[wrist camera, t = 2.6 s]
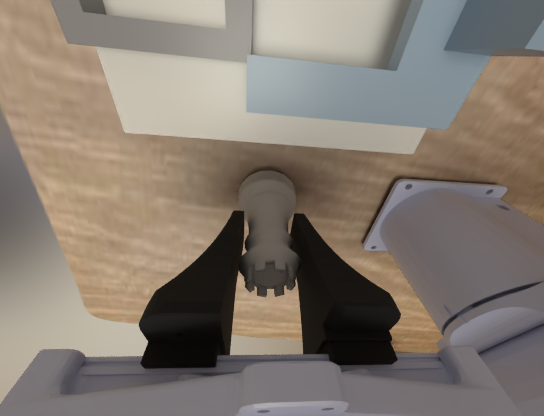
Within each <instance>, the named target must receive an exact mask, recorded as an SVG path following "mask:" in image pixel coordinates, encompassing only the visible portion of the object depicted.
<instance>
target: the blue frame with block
mask: <svg viewBox="0 0 544 416" xmlns="http://www.w3.org/2000/svg"><path fill="white" fill-rule="evenodd" d="M491 56H540V57H544V0H411V3H410V6H409V9H408V12H407V14H406V17H405V20H404V23H403V26H402V28H401V31H400V34H399V37H398V40H397V42H396V45H395V48H394V51H393V54H392V57H391V59H390V62H389V65H388V68H387V70H383V69H374V68H365V67H357V66H348V65H339V64H330V63H321V62H312V61H303V60H294V59H286V58H277V57H268V56H259V55H250V54H247V94H246V112H249V113H260V114H272V115H283V116H294V117H306V118H317V119H328V120H339V121H351V122H362V123H373V124H385V125H396V126H407V127H419V128H430V129H441V130H448V128H449V126H450V125H451V123H452V121H453V120H454V118H455V116H456V115H457V113H458V111H459V110H460V108H461V106H462V104H463V103H464V101H465V99H466V98H467V96H468V94H469V93H470V91H471V89H472V88H473V86H474V84H475V82H476V81H477V79H478V77H479V76H480V74H481V72H482V71H483V69H484V67H485V66H486V64H487V62H488V60H489V59H490V57H491Z"/></svg>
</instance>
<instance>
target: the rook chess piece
mask: <svg viewBox="0 0 544 416" xmlns="http://www.w3.org/2000/svg"><path fill="white" fill-rule="evenodd" d="M238 193H239V198H238V201H239V208H240V211H244V217H245V219H246V220H247V222H248V226H249V235H248V236H247V238H246V240H245V249H246V250H247V252H246V253H245V254H244V255H242V257H241V259H240V261H239V263H238V266H239V272H240V273H241V274H242V275H243V276H244V277H245V278H244V281H246V282H245V288H246V289H247V290H248V291H249V292H251V291H253V290H254V286H255V287H257V296H262V297H266V295H267V289H274V294H275V297H277V296H280V295H284V286H285V285H286V286H287V289H289V290H292V289H293V288H294V287H295V285H296V284H295V279H296V274H297V273H298V272H299V270H300V267H301V260H300V258H299V256H298V255H297V254H296V253H295V252H294V251H292V250H291V249H292V248H293V239H292V237H291V235H290V234H289V233H288V221H289V219H290V218H291V216H292V214H293V212H294V211H295V208H296V190H295V188H294V185H293V183H292V181H291V180H290V179H288V178H287V177H286V176H285V175H284V174H281V173H278V172H275V171H259V172H257V173H254V174H252V175H249V176H248V177H247V178H246V179H245V180H244V181H243V182H242V184H241V187H240V189H239V192H238Z"/></svg>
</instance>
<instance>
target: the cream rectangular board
mask: <svg viewBox="0 0 544 416" xmlns="http://www.w3.org/2000/svg"><path fill="white" fill-rule="evenodd" d="M50 1H51V3H52V6H53V8H54V11H55V13H56V16H57V18H58V21H59V23H60V26H61V28H62V31H63V33H64V36H65V38H66V41H67V43H68V44H78V45H87V46H96V49H97V52H98V55H99V58H100V61H101V64H102V67H103V70H104V73H105V76H106V79H107V82H108V85H109V88H110V91H111V94H112V96H113V99H114V102H115V105H116V108H117V111H118V114H119V117H120V120H121V123H122V126H123V129H124V132H125V133H137V134H150V135H164V136H177V137H190V138H203V139H216V140H229V141H242V142H255V143H268V144H282V145H295V146H308V147H321V148H334V149H347V150H360V151H373V152H387V153H400V154H414V152H415V150H416V148H417V146H418V144H419V142H420V140H421V139H422V137H423V135H424V133H425V131H426V129H427V128H419V127H407V126H396V125H385V124H373V123H362V122H351V121H339V120H328V119H317V118H306V117H294V116H283V115H272V114H260V113H249V112H246V94H247V54H250V55H259V56H268V57H277V58H286V59H294V60H303V61H312V62H321V63H330V64H339V65H348V66H357V67H365V68H374V69H383V70H387V68H388V65H389V62H390V59H391V57H392V54H393V51H394V48H395V45H396V42H397V40H398V37H399V34H400V31H401V28H402V26H403V23H404V20H405V17H406V14H407V12H408V9H409V6H410V3H411V0H50Z"/></svg>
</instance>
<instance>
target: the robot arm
mask: <svg viewBox="0 0 544 416" xmlns="http://www.w3.org/2000/svg"><path fill="white" fill-rule="evenodd" d="M408 184H409V185H408ZM407 185H408V186H407ZM406 186H407V187H406ZM506 191H507V188H506V187H505V186H503V185H492V184H477V183H461V182H446V181H431V180H415V179H400V180H398V181H396V182H395V184H394V186H393V187H392V189H391V191H390V193H389V195H388V197H387V199H386V201H385V203H384V205H383V207H382V209H381V211H380V213H379V214H378V216H377V218H376V220H375V222H374V224H373V226H372V228H371V230H370V232H369V234H368V236H367V238H366V239H365V241H364V243H363V248H364V250H368V251H389V252H390V254H391V255H392V257H393V259H394V260H395V262H396V263H397V265H398V266H399V268H400V270H401V271H402V273H403V274H404V276H405V277H406V279H407V280H408V282H409V284H410V285H411V287H412V288H413V290H414V291H415V293H416V294H417V296H418V298H419V299H420V301H421V302H422V304H423V305H424V307H425V309H426V310H427V312H428V313H429V315H430V316H431V318H432V319H433V321H434V323H435V324H436V326H437V327H438V329H439V330H440V332H441V334H442V335H443V338H442V339H441V340H439V341H438V342H437V343H436V344H437V345H438V347H439V349H440V350H439V351H438V352H437V353H395V352H394V349H393V347H392V345H391V343H390V341H391V340H392V337H391V334H390V332H389V330H390V329H391V328H392V327H393V326H394V325H395V324H396V323H397V322H398V321H399V319H400V316H401V313H400V311H399V310H398V308H397V306H396V304H395V302H394V300H393V298H392V297H391V295H390V293H388V292H387V291H385V290H383V289H382V288H380V287H379V286H377V285H375V284H374V283H372V282H371V281H369V280H368V279H366V278H365V277H364V276H362V275H361V274H359V273H358V272H357V271H355V270H354V269H353V268H352V267H351V266H349V265H348V264H347V263H346V262H345V261H343V260H342V259H341V258H340V257H339V256H338V255H337V254H336V253H335V252H334V251H333V250H332V249H331V248H330V247H329V246H328V245H327V244H326V242H325V241H324V240H323V239H322V238H321V236H320V235H319V234H318V233H317V231H316V230H315V229H314V227H313V226H312V225H311V223H310V222H309V220H308V219H307V217H306V216H305V215H304V214H298V213H294V218H293V223H292V228H291V233H290V235H291V237H292V239H293V248H292V249H291V250H292V251H294V252H295V253H296V254H297V255H298V256H299V258H300V260H301V267H300V270H299V272H298V273H297V274H296V278H297V283H298V290H299V300H300V311H301V324H302V339H303V354H302V355H230V345H231V334H232V323H233V312H234V301H235V291H236V282H237V276H238V271H239V266H238V263H239V261H240V259H241V256H242V251H243V241H244V211H233V213H232V215H231V217H230V219H229V220H228V222H227V224H226V225H225V227H224V228H223V230H222V231H221V232H220V234H219V235H218V236H217V238H216V239H215V240H214V242H213V243H212V244H211V245H210V246H209V247H208V248H207V250H206V251H205V252H204V253H203V254H202V255H201V256H200V257H199V258H198V259H197V260H196V261H194V262H193V263H192V264H191V265H190V266H189V267H188V268H186V269H185V270H184V271H183V272H181V273H180V274H179V275H178V276H176V277H175V278H174V279H172V280H171V281H169V282H168V283H167V284H165V285H164V286H162V287H161V288H159V289H158V290H156V292H155V293H154V295H153V296H152V298H151V300H150V301H149V303H148V305H147V307H146V309H145V311H144V313H143V315H142V318H141V320H140V322H139V327H140V330H141V331H142V333H143V334H144V336H145V337H146V339H147V340H148V345H147V347H146V350H145V352H144V355H143V356H137V357H136V356H134V357H133V356H132V357H85V355H84V354H83V353H82V352H80V351H78V350H73V349H72V350H71V349H48V350H47V349H44V350H41V351H40V352H39V353H38V354H37V356H36V357H35V358H34V360H33V361H32V362H31V364H30V365H29V366H28V368H27V369H26V370H25V372H24V373H23V374H22V376H21V377H20V378H19V380H18V381H17V383H16V384H15V385H14V386H13V388H12V389H11V390H10V392H9V393H8V394H7V396H6V397H5V399H4V400H3V401H2V403H1V404H0V416H544V225H542V224H541V223H539V222H537V221H536V220H534V219H533V218H531V217H529V216H528V215H526V214H524V213H523V212H521V211H519V210H518V209H516V208H514V207H513V206H511V205H510V204H508V203H506V202H505V201H503V200H501V199H500V198H501V197H502V196H503V195H504V194H505V193H506Z"/></svg>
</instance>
